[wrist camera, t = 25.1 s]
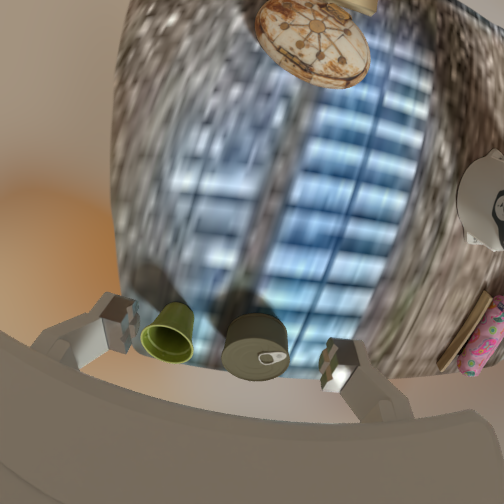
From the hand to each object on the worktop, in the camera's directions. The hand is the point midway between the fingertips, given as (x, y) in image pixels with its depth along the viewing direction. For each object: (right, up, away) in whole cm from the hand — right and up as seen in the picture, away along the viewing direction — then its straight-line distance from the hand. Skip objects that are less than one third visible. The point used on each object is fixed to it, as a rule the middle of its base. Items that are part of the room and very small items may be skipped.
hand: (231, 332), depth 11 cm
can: (+2, -13, +42) cm, 44 cm away
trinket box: (+9, +32, +19) cm, 38 cm away
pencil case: (+58, -15, +39) cm, 72 cm away
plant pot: (-13, -8, +40) cm, 43 cm away
